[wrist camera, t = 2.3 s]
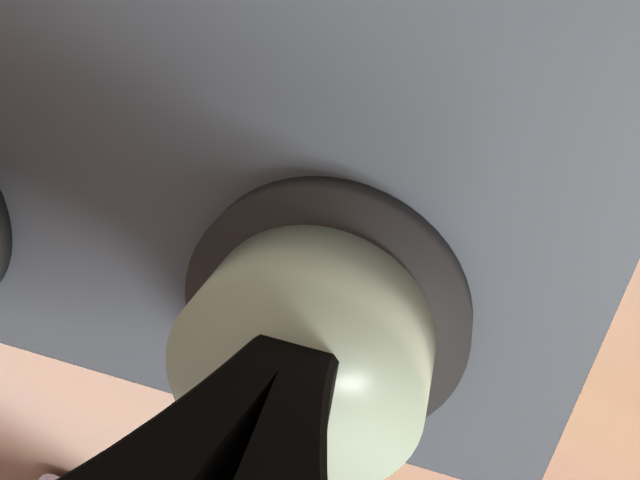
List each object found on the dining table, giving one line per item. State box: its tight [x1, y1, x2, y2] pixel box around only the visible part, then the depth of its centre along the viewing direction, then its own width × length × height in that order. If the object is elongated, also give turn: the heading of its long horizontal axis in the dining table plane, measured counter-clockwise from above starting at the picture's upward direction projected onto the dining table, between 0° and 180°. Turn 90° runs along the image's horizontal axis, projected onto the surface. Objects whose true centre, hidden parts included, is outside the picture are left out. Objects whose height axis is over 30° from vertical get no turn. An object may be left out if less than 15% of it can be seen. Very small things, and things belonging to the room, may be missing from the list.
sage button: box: [165, 224, 437, 480], centre depth 11 cm, size 4×4×2 cm
